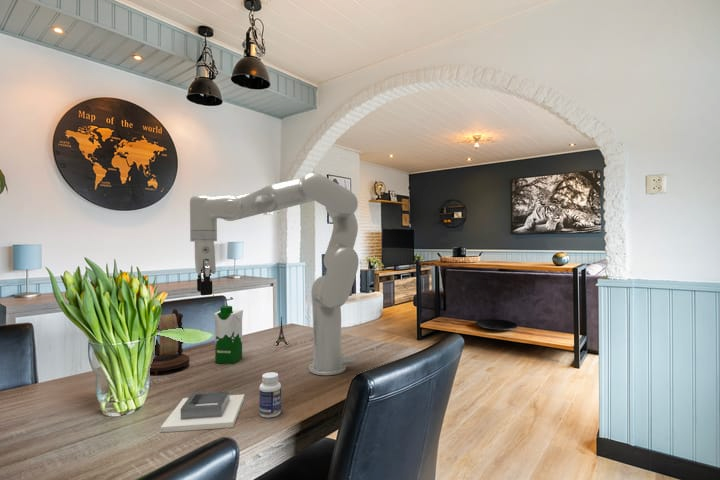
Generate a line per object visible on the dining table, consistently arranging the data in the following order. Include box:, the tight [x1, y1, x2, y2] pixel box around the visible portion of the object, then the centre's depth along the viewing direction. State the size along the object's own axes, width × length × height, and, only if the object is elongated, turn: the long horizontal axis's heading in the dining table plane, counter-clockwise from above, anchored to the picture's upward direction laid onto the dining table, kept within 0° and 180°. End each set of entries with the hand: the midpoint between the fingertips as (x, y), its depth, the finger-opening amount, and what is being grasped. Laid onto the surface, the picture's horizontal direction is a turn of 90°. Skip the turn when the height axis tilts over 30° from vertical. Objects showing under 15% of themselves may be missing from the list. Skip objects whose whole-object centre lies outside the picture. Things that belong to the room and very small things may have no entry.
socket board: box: [160, 393, 245, 433], centre depth 95 cm, size 16×16×1 cm
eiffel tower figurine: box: [276, 316, 289, 346], centre depth 157 cm, size 15×10×13 cm
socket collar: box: [181, 390, 231, 419], centre depth 95 cm, size 9×9×2 cm
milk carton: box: [213, 305, 244, 365], centre depth 137 cm, size 9×9×20 cm
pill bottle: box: [258, 371, 282, 418], centre depth 95 cm, size 5×5×10 cm
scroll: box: [149, 308, 191, 376], centre depth 129 cm, size 15×15×20 cm
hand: (204, 292), depth 114 cm, fingers open, 9 cm apart
